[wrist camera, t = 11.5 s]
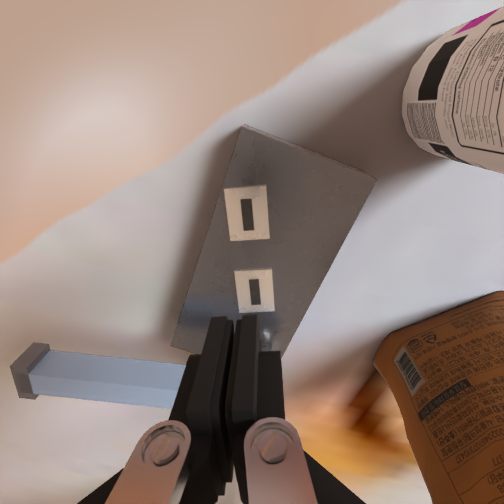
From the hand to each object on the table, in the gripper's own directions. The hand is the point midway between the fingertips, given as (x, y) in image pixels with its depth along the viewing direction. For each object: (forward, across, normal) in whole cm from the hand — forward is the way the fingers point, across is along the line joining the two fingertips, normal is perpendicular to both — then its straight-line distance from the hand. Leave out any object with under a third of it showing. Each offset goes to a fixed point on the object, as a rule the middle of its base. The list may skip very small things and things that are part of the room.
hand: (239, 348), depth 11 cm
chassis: (+16, 0, +4) cm, 17 cm away
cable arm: (+10, +8, +10) cm, 17 cm away
